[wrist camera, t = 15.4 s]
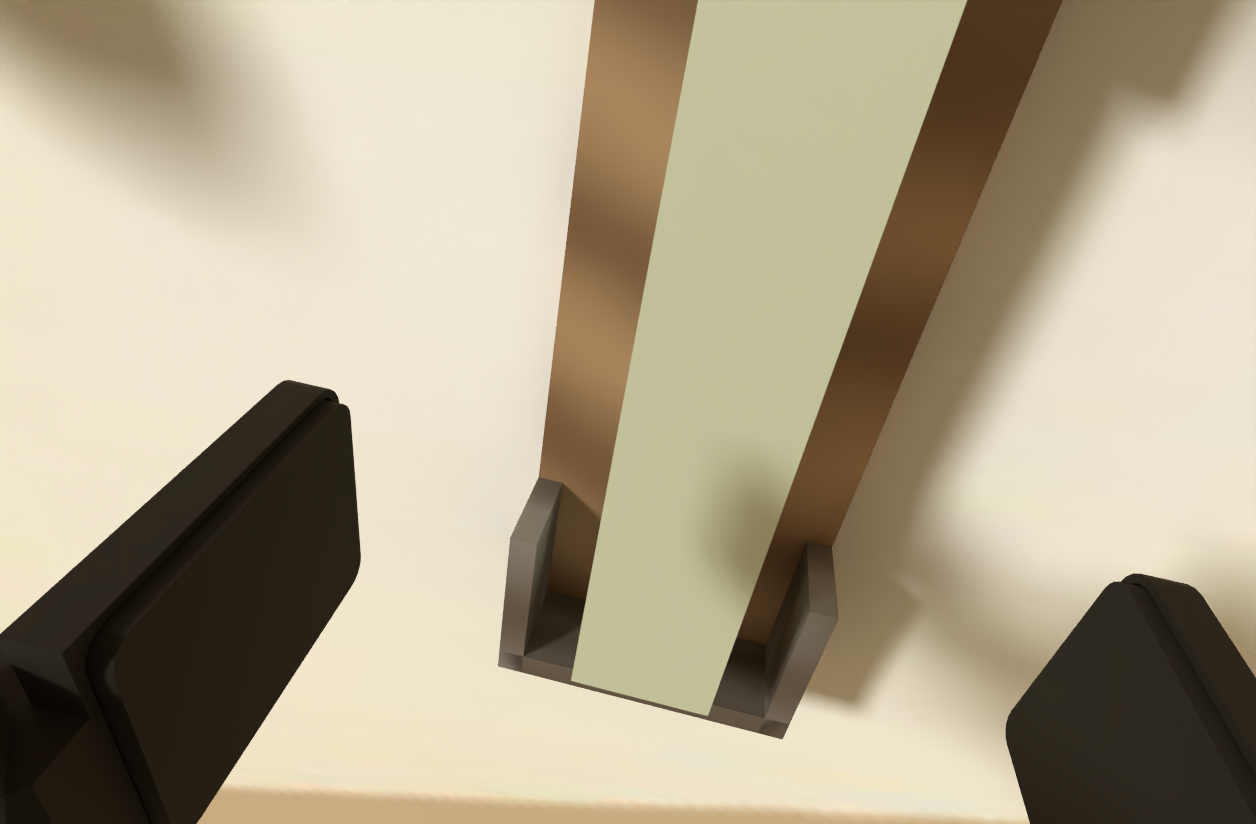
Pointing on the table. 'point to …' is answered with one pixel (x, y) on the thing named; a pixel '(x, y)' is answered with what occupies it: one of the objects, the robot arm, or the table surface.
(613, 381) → the cradle
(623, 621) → the slat
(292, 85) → the table surface
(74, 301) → the table surface
